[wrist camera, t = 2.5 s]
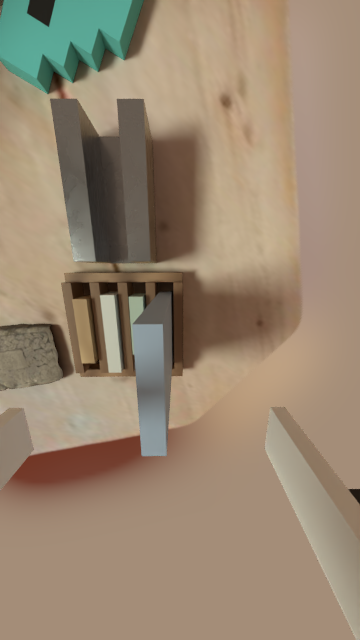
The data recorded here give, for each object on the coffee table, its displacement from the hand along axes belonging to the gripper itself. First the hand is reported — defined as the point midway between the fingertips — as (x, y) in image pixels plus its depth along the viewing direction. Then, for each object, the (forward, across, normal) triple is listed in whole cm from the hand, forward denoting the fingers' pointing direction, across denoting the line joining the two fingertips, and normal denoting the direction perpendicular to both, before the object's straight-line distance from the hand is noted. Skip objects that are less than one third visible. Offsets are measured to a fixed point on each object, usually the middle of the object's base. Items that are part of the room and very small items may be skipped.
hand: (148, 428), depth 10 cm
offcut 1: (+19, -11, 0) cm, 22 cm away
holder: (+19, -6, +16) cm, 26 cm away
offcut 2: (+20, -8, 0) cm, 21 cm away
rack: (+19, -6, 0) cm, 20 cm away
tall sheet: (+19, 0, 0) cm, 19 cm away
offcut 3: (+20, -4, +1) cm, 20 cm away
